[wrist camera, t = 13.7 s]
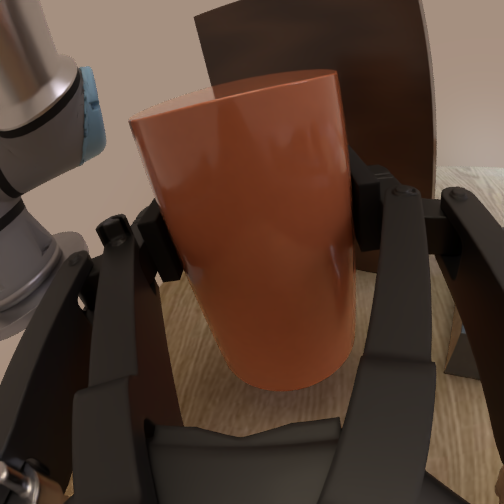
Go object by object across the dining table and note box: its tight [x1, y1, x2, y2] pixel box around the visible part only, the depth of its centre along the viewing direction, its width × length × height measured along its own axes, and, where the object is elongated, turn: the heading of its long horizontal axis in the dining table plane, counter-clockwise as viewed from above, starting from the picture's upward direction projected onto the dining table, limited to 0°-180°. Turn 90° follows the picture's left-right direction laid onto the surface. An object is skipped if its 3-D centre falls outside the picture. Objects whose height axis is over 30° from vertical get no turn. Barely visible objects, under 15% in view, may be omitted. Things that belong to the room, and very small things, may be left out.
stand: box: [194, 0, 437, 273], centre depth 24 cm, size 16×12×22 cm
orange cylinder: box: [128, 69, 356, 391], centre depth 13 cm, size 7×7×12 cm
